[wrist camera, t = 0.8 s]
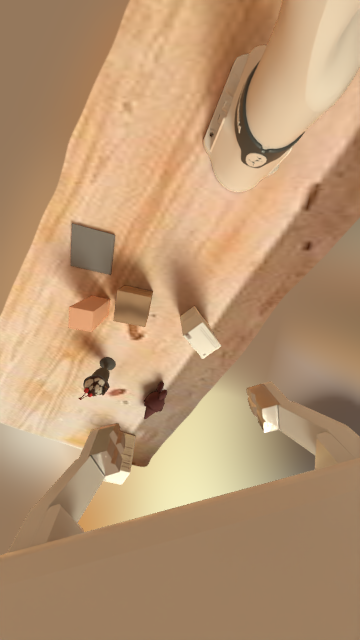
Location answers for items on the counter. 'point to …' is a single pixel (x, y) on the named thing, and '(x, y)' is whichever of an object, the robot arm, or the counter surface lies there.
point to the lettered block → (132, 305)
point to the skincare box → (198, 333)
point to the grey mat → (92, 249)
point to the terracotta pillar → (88, 313)
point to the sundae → (99, 379)
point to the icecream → (155, 401)
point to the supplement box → (124, 461)
